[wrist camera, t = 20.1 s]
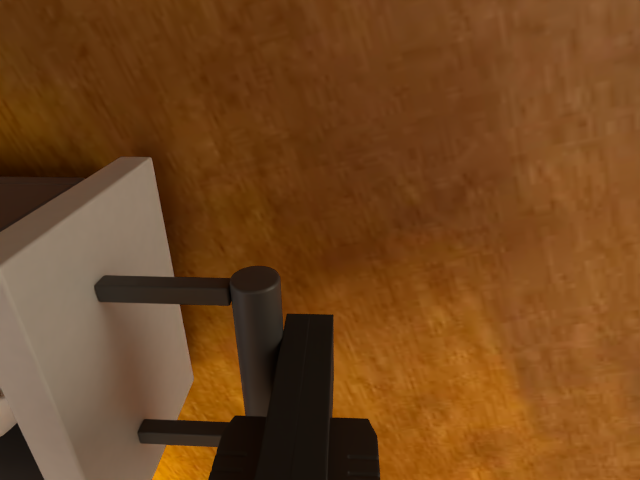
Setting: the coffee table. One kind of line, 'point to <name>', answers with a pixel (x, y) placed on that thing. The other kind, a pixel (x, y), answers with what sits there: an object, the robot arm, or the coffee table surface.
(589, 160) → the coffee table surface
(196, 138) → the coffee table surface
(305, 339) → the robot arm
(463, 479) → the coffee table surface
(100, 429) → the drawer
